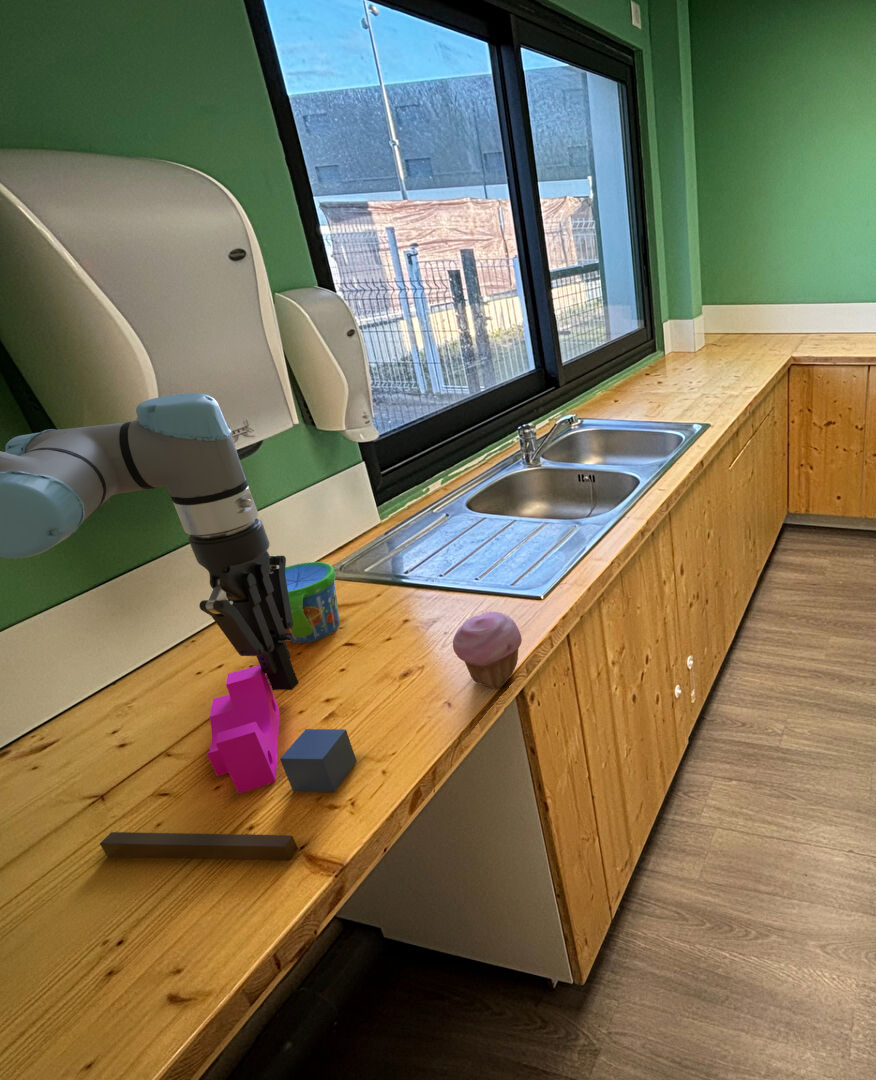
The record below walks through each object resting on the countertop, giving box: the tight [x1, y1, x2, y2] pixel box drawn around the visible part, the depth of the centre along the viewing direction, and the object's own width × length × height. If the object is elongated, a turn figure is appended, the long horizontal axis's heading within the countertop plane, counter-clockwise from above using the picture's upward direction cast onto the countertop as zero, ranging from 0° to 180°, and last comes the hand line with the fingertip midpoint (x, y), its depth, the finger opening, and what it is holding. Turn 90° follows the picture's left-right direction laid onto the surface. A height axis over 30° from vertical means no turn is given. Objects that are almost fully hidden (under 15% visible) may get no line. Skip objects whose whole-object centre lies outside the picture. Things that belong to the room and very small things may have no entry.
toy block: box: [206, 664, 280, 795], centre depth 85 cm, size 15×6×8 cm, turn 28°
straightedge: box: [99, 831, 299, 861], centre depth 73 cm, size 20×2×2 cm, turn 87°
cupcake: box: [452, 611, 523, 689], centre depth 97 cm, size 9×9×10 cm
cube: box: [279, 728, 358, 793], centre depth 82 cm, size 5×5×5 cm
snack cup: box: [281, 561, 340, 644], centre depth 110 cm, size 16×10×10 cm
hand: (285, 686), depth 93 cm, fingers closed
